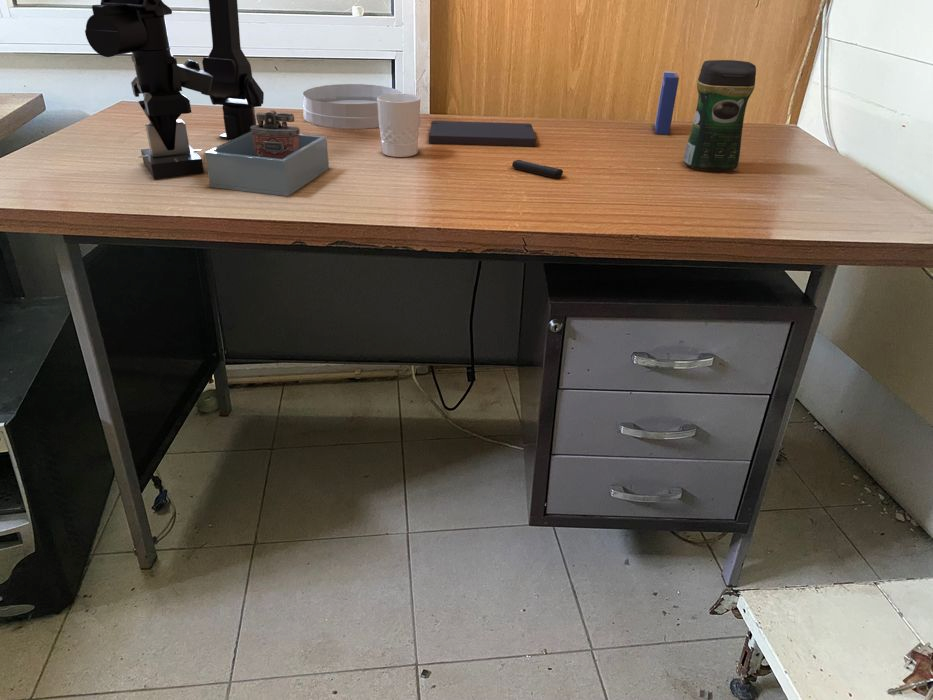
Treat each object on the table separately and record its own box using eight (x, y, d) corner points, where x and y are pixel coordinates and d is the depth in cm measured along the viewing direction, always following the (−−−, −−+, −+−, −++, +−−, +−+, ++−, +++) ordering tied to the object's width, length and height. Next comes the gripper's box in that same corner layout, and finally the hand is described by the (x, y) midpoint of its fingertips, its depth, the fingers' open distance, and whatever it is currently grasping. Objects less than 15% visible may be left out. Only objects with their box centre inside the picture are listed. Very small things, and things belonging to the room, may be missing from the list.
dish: (363, 102, 170) (362, 80, 167) (424, 119, 157) (424, 95, 154) (284, 114, 156) (281, 91, 154) (342, 134, 143) (341, 109, 140)
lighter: (252, 174, 117) (244, 112, 111) (260, 168, 119) (252, 107, 114) (299, 177, 116) (293, 115, 111) (306, 171, 119) (300, 110, 114)
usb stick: (564, 176, 123) (565, 167, 122) (556, 180, 121) (557, 171, 120) (518, 166, 127) (519, 157, 126) (510, 169, 125) (511, 160, 125)
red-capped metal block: (153, 157, 116) (146, 125, 114) (150, 153, 118) (144, 122, 116) (190, 153, 119) (185, 121, 116) (187, 149, 121) (182, 118, 118)
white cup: (414, 159, 129) (413, 103, 124) (373, 156, 130) (371, 100, 125) (425, 148, 135) (425, 95, 130) (386, 145, 137) (384, 92, 131)
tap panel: (136, 164, 121) (133, 148, 120) (197, 157, 126) (194, 142, 125) (147, 180, 114) (143, 164, 113) (211, 172, 119) (208, 157, 117)
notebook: (428, 143, 139) (535, 146, 139) (428, 135, 138) (536, 138, 138) (431, 127, 150) (530, 131, 150) (431, 120, 149) (531, 123, 149)
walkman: (669, 135, 151) (679, 76, 144) (656, 134, 151) (665, 75, 145) (667, 126, 157) (677, 69, 151) (654, 125, 158) (663, 69, 152)
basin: (258, 161, 125) (254, 129, 122) (328, 168, 122) (326, 136, 120) (210, 187, 112) (204, 152, 109) (287, 196, 109) (284, 160, 107)
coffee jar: (729, 161, 134) (752, 57, 124) (740, 174, 127) (766, 65, 117) (678, 159, 134) (697, 55, 125) (687, 171, 127) (707, 62, 118)
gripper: (216, 54, 107) (231, 156, 115) (192, 38, 121) (206, 130, 129) (138, 58, 102) (159, 164, 110) (122, 41, 116) (141, 136, 124)
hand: (169, 147), depth 118 cm, fingers closed on red-capped metal block, 2 cm apart
